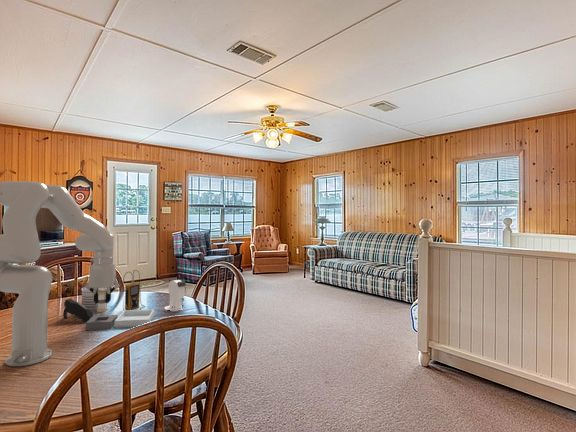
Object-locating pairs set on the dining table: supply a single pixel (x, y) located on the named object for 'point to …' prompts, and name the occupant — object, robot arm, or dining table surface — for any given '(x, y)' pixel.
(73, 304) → the gun
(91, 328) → the grey flat square block
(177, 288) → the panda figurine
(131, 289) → the multimeter
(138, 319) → the parts tray
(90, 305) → the can
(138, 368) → the dining table surface
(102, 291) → the cylinder
